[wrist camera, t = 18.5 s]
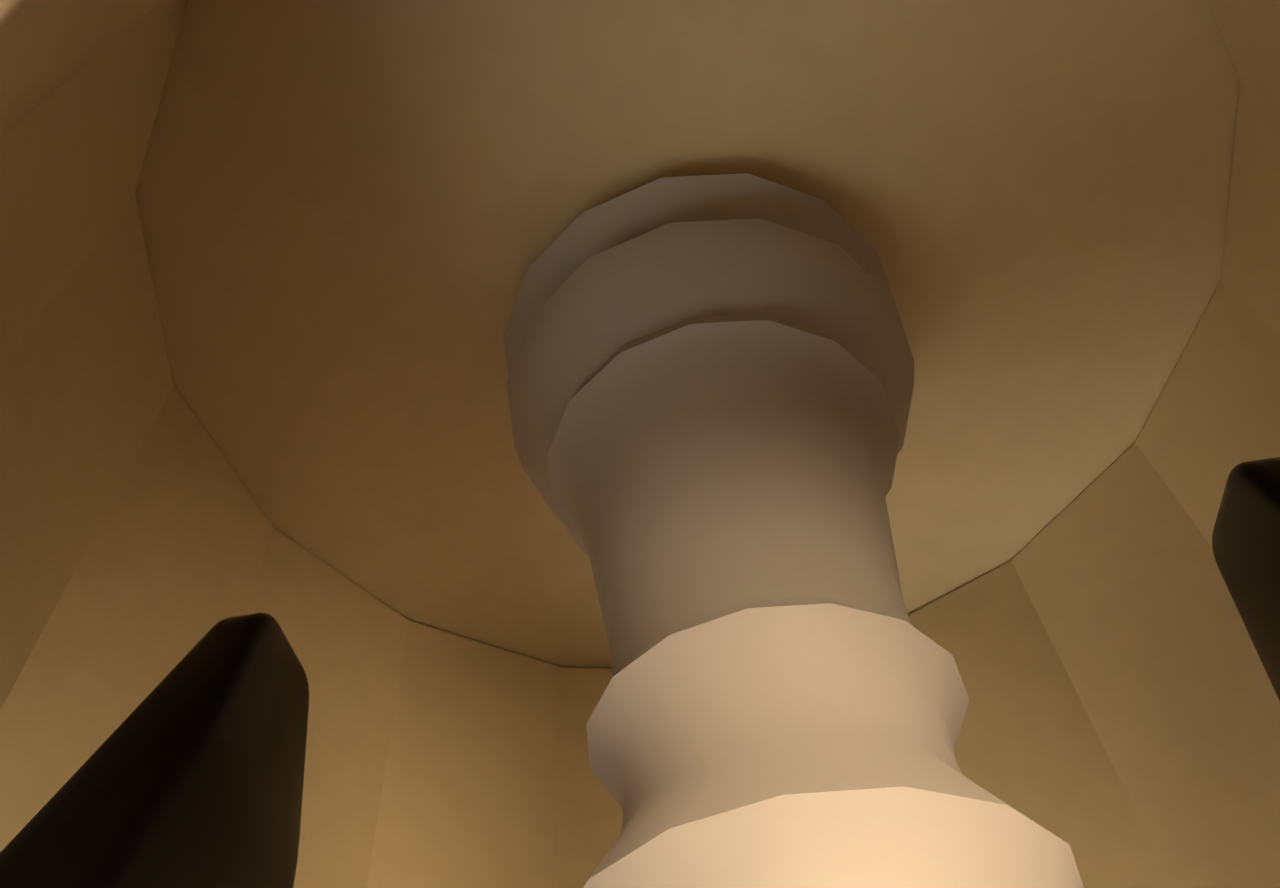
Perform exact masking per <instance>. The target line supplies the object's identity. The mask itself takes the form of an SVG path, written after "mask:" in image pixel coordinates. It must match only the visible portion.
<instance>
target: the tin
mask: <svg viewBox="0 0 1280 888" xmlns="http://www.w3.org/2000/svg"><path fill="white" fill-rule="evenodd" d="M744 173H749V174H752V175H755V176H757V177H760V178H763V179H766V180H769V181H771V182H774V183H777V184H780V185H783V186H785V187H788V188H791V189H794V190H797V191H800V192H802V193H805V194H808V195H811V196H814V197H816V198H819V199H822V200H825V201H826V202H827V203H828V204H829V205H830V206H831V207H832V208H833V209H834V210H835V211H836V212H837V213H838V214H839V215H840V216H841V217H842V218H843V219H844V220H846V221H847V222H848V223H849V224H850V225H851V226H852V227H853V228H854V229H855V230H856V231H857V232H858V233H859V234H860V235H861V236H862V237H863V238H864V239H865V240H866V241H867V242H868V243H869V244H870V245H871V246H872V247H873V248H874V249H875V250H876V251H877V252H878V255H879V258H880V261H881V264H882V267H883V270H884V273H885V276H886V279H887V282H888V285H889V288H890V291H891V294H892V296H893V298H894V301H895V304H896V307H897V310H898V313H899V316H900V319H901V323H902V326H903V329H904V332H905V335H906V338H907V341H908V344H909V347H910V350H911V353H912V356H913V359H914V387H913V393H912V399H911V404H910V410H909V416H908V421H907V427H906V433H905V438H904V444H903V447H902V449H901V450H900V452H899V453H898V455H897V459H896V464H895V470H894V476H893V482H892V488H891V489H890V491H889V492H888V493H887V495H886V496H885V499H886V504H887V510H888V516H889V522H890V527H891V533H892V539H893V545H894V550H895V556H896V562H897V567H898V573H899V579H900V585H901V590H902V596H903V601H904V604H905V607H906V609H907V612H908V615H909V618H910V621H911V623H912V626H913V627H915V628H916V629H917V630H919V631H920V632H921V633H923V634H924V635H926V636H927V637H928V638H930V639H931V640H933V641H934V642H935V643H937V644H938V645H939V646H941V647H942V648H944V649H945V650H946V651H948V652H949V653H950V654H952V655H953V658H954V660H955V663H956V666H957V668H958V671H959V674H960V676H961V679H962V681H963V684H964V687H965V689H966V692H967V694H968V697H969V702H968V706H967V709H966V713H965V716H964V720H963V723H962V727H961V730H960V734H959V737H958V741H957V744H956V747H955V749H954V752H955V757H956V762H957V764H958V766H959V768H960V770H961V772H962V774H963V775H964V776H965V777H967V778H968V779H970V780H971V781H973V782H974V783H976V784H977V785H979V786H980V787H982V788H983V789H985V790H987V791H988V792H990V793H991V794H993V795H994V796H996V797H997V798H999V799H1000V800H1002V801H1003V802H1005V803H1007V804H1008V805H1010V806H1011V807H1013V808H1014V809H1016V810H1017V811H1019V812H1020V813H1022V814H1023V815H1025V816H1026V817H1028V818H1030V819H1031V820H1033V821H1034V822H1036V823H1037V824H1039V825H1040V826H1042V827H1043V828H1045V829H1046V830H1048V831H1049V832H1051V833H1053V834H1054V835H1056V836H1057V837H1059V838H1060V839H1062V840H1063V841H1065V842H1066V843H1068V844H1069V845H1070V847H1071V850H1072V853H1073V856H1074V859H1075V862H1076V866H1077V869H1078V872H1079V875H1080V878H1081V881H1082V884H1083V887H1084V888H1280V701H1279V699H1278V697H1277V695H1276V693H1275V691H1274V688H1273V686H1272V684H1271V682H1270V680H1269V677H1268V675H1267V673H1266V671H1265V669H1264V667H1263V664H1262V662H1261V660H1260V658H1259V656H1258V653H1257V651H1256V649H1255V647H1254V645H1253V642H1252V640H1251V638H1250V636H1249V634H1248V632H1247V629H1246V627H1245V625H1244V623H1243V621H1242V618H1241V616H1240V614H1239V612H1238V610H1237V607H1236V605H1235V603H1234V601H1233V599H1232V597H1231V594H1230V592H1229V590H1228V588H1227V586H1226V583H1225V581H1224V579H1223V577H1222V575H1221V572H1220V570H1219V568H1218V566H1217V563H1216V561H1215V558H1214V554H1213V549H1212V534H1213V529H1214V525H1215V522H1216V518H1217V514H1218V511H1219V507H1220V504H1221V500H1222V496H1223V493H1224V489H1225V485H1226V482H1227V478H1228V476H1229V473H1230V472H1231V470H1232V469H1233V468H1234V467H1235V466H1236V465H1238V464H1240V463H1242V462H1248V461H1254V460H1261V459H1267V458H1274V457H1280V0H0V852H1V851H2V850H3V849H4V848H5V847H6V846H7V845H8V843H9V842H10V841H11V840H12V839H13V838H14V837H15V836H16V835H17V834H18V833H19V832H20V831H21V830H22V829H23V828H24V827H25V825H26V824H27V823H28V822H29V821H30V820H31V819H32V818H33V817H34V816H35V815H36V814H37V813H38V812H39V811H40V810H41V808H42V807H43V806H44V805H45V804H46V803H47V802H48V801H49V800H50V799H51V798H52V797H53V796H54V795H55V794H56V793H57V792H58V790H59V789H60V788H61V787H62V786H63V785H64V784H65V783H66V782H67V781H68V780H69V779H70V778H71V777H72V776H73V775H74V773H75V772H76V771H77V770H78V769H79V768H80V767H81V766H82V765H83V764H84V763H85V762H86V761H87V760H88V759H89V758H90V756H91V755H92V754H93V753H94V752H95V751H96V750H97V749H98V748H99V747H100V746H101V745H102V744H103V743H104V742H105V741H106V740H107V738H108V737H109V736H110V735H111V734H112V733H113V732H114V731H115V730H116V729H117V728H118V727H119V726H120V725H121V724H122V723H123V721H124V720H125V719H126V718H127V717H128V716H129V715H130V714H131V713H132V712H133V711H134V710H135V709H136V708H137V707H138V706H139V705H140V703H141V702H142V701H143V700H144V699H145V698H146V697H147V696H148V695H149V694H150V693H151V692H152V691H153V690H154V689H155V688H156V686H157V685H158V684H159V683H160V682H161V681H162V680H163V679H164V678H165V677H166V676H167V675H168V674H169V673H170V672H171V671H172V669H173V668H174V667H175V666H176V665H177V664H178V663H179V662H180V661H181V660H182V659H183V658H184V657H185V656H186V655H187V654H188V653H189V651H190V650H191V649H192V648H193V647H194V646H195V645H196V644H197V643H198V642H199V641H200V640H201V639H202V638H203V637H204V636H205V634H206V633H207V632H208V631H209V630H210V629H211V628H212V627H213V626H214V625H215V624H217V623H218V622H219V621H221V620H223V619H225V618H228V617H235V616H241V615H248V614H254V613H268V614H270V615H271V616H272V617H274V618H275V619H276V621H277V622H278V624H279V625H280V627H281V629H282V631H283V632H284V634H285V636H286V638H287V640H288V641H289V643H290V645H291V647H292V649H293V650H294V652H295V654H296V656H297V657H298V659H299V661H300V663H301V665H302V666H303V668H304V671H305V673H306V676H307V679H308V685H309V711H308V726H307V740H306V755H305V769H304V784H303V798H302V813H301V827H300V840H299V850H298V860H297V867H296V874H295V880H294V886H293V888H583V887H584V886H585V884H586V883H587V881H588V880H589V878H590V877H591V875H592V874H593V873H594V871H595V870H596V868H597V867H598V866H599V864H600V863H601V861H602V860H603V858H604V857H605V856H606V854H607V853H608V851H609V850H610V849H611V847H612V846H613V844H614V843H615V842H616V840H617V839H618V837H619V836H620V835H621V832H622V822H623V811H622V807H621V806H620V804H619V803H618V802H617V801H616V800H615V799H614V797H613V796H612V795H611V794H610V793H609V791H608V790H607V789H606V788H605V787H604V785H603V784H602V783H601V782H600V781H599V779H598V778H597V777H596V776H595V775H594V774H593V772H592V771H591V770H590V760H589V750H588V739H587V728H586V724H587V722H588V720H589V719H590V717H591V715H592V713H593V711H594V710H595V708H596V706H597V704H598V702H599V701H600V699H601V697H602V695H603V693H604V692H605V690H606V688H607V686H608V684H609V683H610V681H611V679H612V664H611V652H610V648H609V643H608V639H607V635H606V630H605V626H604V621H603V617H602V612H601V608H600V603H599V599H598V594H597V590H596V585H595V581H594V576H593V572H592V568H591V563H590V559H589V555H588V554H586V553H585V552H583V551H582V550H581V548H580V547H579V545H578V544H577V542H576V541H575V539H574V538H573V536H572V535H571V533H570V532H569V531H568V529H567V528H566V526H565V525H564V523H563V522H562V521H560V520H559V519H558V518H557V517H556V515H555V514H554V513H553V511H552V510H551V508H550V507H549V505H548V504H547V502H546V501H545V499H544V498H543V496H542V495H541V494H540V492H539V491H538V489H537V488H536V486H535V485H534V483H533V482H532V480H531V479H530V477H529V476H528V475H527V473H526V472H525V470H524V469H523V466H522V464H521V462H520V459H519V457H518V454H517V452H516V449H515V446H514V438H513V430H512V422H511V415H510V407H509V399H508V391H507V384H506V383H507V380H508V369H507V361H506V353H505V345H504V338H503V337H504V334H505V331H506V328H507V326H508V323H509V320H510V317H511V314H512V311H513V309H514V306H515V303H516V300H517V297H518V294H519V291H520V289H521V286H522V283H523V280H524V277H525V274H526V272H527V270H528V269H529V267H530V266H531V265H532V264H533V263H534V262H535V261H536V260H537V259H538V258H539V257H540V256H541V255H542V254H543V253H544V252H545V251H546V250H547V249H548V248H549V247H550V246H551V245H552V244H553V243H554V241H555V240H556V239H557V238H558V237H559V236H560V235H561V234H562V233H563V232H564V231H565V230H566V229H567V228H568V227H569V226H570V225H571V224H572V223H573V222H574V221H575V220H576V219H577V218H578V217H579V215H580V214H581V213H582V212H585V211H587V210H589V209H591V208H594V207H596V206H598V205H600V204H603V203H605V202H607V201H609V200H612V199H614V198H616V197H618V196H621V195H623V194H625V193H627V192H630V191H632V190H634V189H636V188H639V187H641V186H643V185H645V184H648V183H650V182H652V181H654V180H657V179H659V178H661V177H682V176H703V175H723V174H744Z"/></svg>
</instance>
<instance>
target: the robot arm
mask: <svg viewBox="0 0 1280 888" xmlns="http://www.w3.org/2000/svg"><path fill="white" fill-rule="evenodd" d="M1212 549H1213V554H1214V558H1215V561H1216V563H1217V566H1218V568H1219V570H1220V572H1221V575H1222V577H1223V579H1224V581H1225V583H1226V586H1227V588H1228V590H1229V592H1230V594H1231V597H1232V599H1233V601H1234V603H1235V605H1236V607H1237V610H1238V612H1239V614H1240V616H1241V618H1242V621H1243V623H1244V625H1245V627H1246V629H1247V632H1248V634H1249V636H1250V638H1251V640H1252V642H1253V645H1254V647H1255V649H1256V651H1257V653H1258V656H1259V658H1260V660H1261V662H1262V664H1263V667H1264V669H1265V671H1266V673H1267V675H1268V677H1269V680H1270V682H1271V684H1272V686H1273V688H1274V691H1275V693H1276V695H1277V697H1278V699H1279V701H1280V457H1274V458H1267V459H1261V460H1254V461H1248V462H1242V463H1240V464H1238V465H1236V466H1235V467H1234V468H1233V469H1232V470H1231V472H1230V473H1229V476H1228V478H1227V482H1226V485H1225V489H1224V493H1223V496H1222V500H1221V504H1220V507H1219V511H1218V514H1217V518H1216V522H1215V525H1214V529H1213V534H1212ZM308 711H309V685H308V679H307V676H306V673H305V671H304V668H303V666H302V665H301V663H300V661H299V659H298V657H297V656H296V654H295V652H294V650H293V649H292V647H291V645H290V643H289V641H288V640H287V638H286V636H285V634H284V632H283V631H282V629H281V627H280V625H279V624H278V622H277V621H276V619H275V618H274V617H272V616H271V615H270V614H268V613H254V614H248V615H241V616H235V617H228V618H225V619H223V620H221V621H219V622H218V623H217V624H215V625H214V626H213V627H212V628H211V629H210V630H209V631H208V632H207V633H206V634H205V636H204V637H203V638H202V639H201V640H200V641H199V642H198V643H197V644H196V645H195V646H194V647H193V648H192V649H191V650H190V651H189V653H188V654H187V655H186V656H185V657H184V658H183V659H182V660H181V661H180V662H179V663H178V664H177V665H176V666H175V667H174V668H173V669H172V671H171V672H170V673H169V674H168V675H167V676H166V677H165V678H164V679H163V680H162V681H161V682H160V683H159V684H158V685H157V686H156V688H155V689H154V690H153V691H152V692H151V693H150V694H149V695H148V696H147V697H146V698H145V699H144V700H143V701H142V702H141V703H140V705H139V706H138V707H137V708H136V709H135V710H134V711H133V712H132V713H131V714H130V715H129V716H128V717H127V718H126V719H125V720H124V721H123V723H122V724H121V725H120V726H119V727H118V728H117V729H116V730H115V731H114V732H113V733H112V734H111V735H110V736H109V737H108V738H107V740H106V741H105V742H104V743H103V744H102V745H101V746H100V747H99V748H98V749H97V750H96V751H95V752H94V753H93V754H92V755H91V756H90V758H89V759H88V760H87V761H86V762H85V763H84V764H83V765H82V766H81V767H80V768H79V769H78V770H77V771H76V772H75V773H74V775H73V776H72V777H71V778H70V779H69V780H68V781H67V782H66V783H65V784H64V785H63V786H62V787H61V788H60V789H59V790H58V792H57V793H56V794H55V795H54V796H53V797H52V798H51V799H50V800H49V801H48V802H47V803H46V804H45V805H44V806H43V807H42V808H41V810H40V811H39V812H38V813H37V814H36V815H35V816H34V817H33V818H32V819H31V820H30V821H29V822H28V823H27V824H26V825H25V827H24V828H23V829H22V830H21V831H20V832H19V833H18V834H17V835H16V836H15V837H14V838H13V839H12V840H11V841H10V842H9V843H8V845H7V846H6V847H5V848H4V849H3V850H2V851H1V852H0V888H293V886H294V880H295V874H296V867H297V860H298V850H299V840H300V827H301V813H302V798H303V784H304V769H305V755H306V740H307V726H308Z"/></svg>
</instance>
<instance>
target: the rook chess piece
mask: <svg viewBox="0 0 1280 888" xmlns="http://www.w3.org/2000/svg"><path fill="white" fill-rule="evenodd" d="M503 338H504V345H505V353H506V361H507V369H508V380H507V383H506V384H507V391H508V399H509V407H510V415H511V422H512V430H513V438H514V446H515V449H516V452H517V454H518V457H519V459H520V462H521V464H522V466H523V469H524V470H525V472H526V473H527V475H528V476H529V477H530V479H531V480H532V482H533V483H534V485H535V486H536V488H537V489H538V491H539V492H540V494H541V495H542V496H543V498H544V499H545V501H546V502H547V504H548V505H549V507H550V508H551V510H552V511H553V513H554V514H555V515H556V517H557V518H558V519H559V520H560V521H562V522H563V523H564V525H565V526H566V528H567V529H568V531H569V532H570V533H571V535H572V536H573V538H574V539H575V541H576V542H577V544H578V545H579V547H580V548H581V550H582V551H583V552H585V553H586V554H588V555H589V559H590V563H591V568H592V572H593V576H594V581H595V585H596V590H597V594H598V599H599V603H600V608H601V612H602V617H603V621H604V626H605V630H606V635H607V639H608V643H609V648H610V652H611V664H612V679H611V681H610V683H609V684H608V686H607V688H606V690H605V692H604V693H603V695H602V697H601V699H600V701H599V702H598V704H597V706H596V708H595V710H594V711H593V713H592V715H591V717H590V719H589V720H588V722H587V724H586V728H587V739H588V750H589V760H590V770H591V771H592V772H593V774H594V775H595V776H596V777H597V778H598V779H599V781H600V782H601V783H602V784H603V785H604V787H605V788H606V789H607V790H608V791H609V793H610V794H611V795H612V796H613V797H614V799H615V800H616V801H617V802H618V803H619V804H620V806H621V807H622V811H623V822H622V832H621V835H620V836H619V837H618V839H617V840H616V842H615V843H614V844H613V846H612V847H611V849H610V850H609V851H608V853H607V854H606V856H605V857H604V858H603V860H602V861H601V863H600V864H599V866H598V867H597V868H596V870H595V871H594V873H593V874H592V875H591V877H590V878H589V880H588V881H587V883H586V884H585V886H584V887H583V888H1084V887H1083V884H1082V881H1081V878H1080V875H1079V872H1078V869H1077V866H1076V862H1075V859H1074V856H1073V853H1072V850H1071V847H1070V845H1069V844H1068V843H1066V842H1065V841H1063V840H1062V839H1060V838H1059V837H1057V836H1056V835H1054V834H1053V833H1051V832H1049V831H1048V830H1046V829H1045V828H1043V827H1042V826H1040V825H1039V824H1037V823H1036V822H1034V821H1033V820H1031V819H1030V818H1028V817H1026V816H1025V815H1023V814H1022V813H1020V812H1019V811H1017V810H1016V809H1014V808H1013V807H1011V806H1010V805H1008V804H1007V803H1005V802H1003V801H1002V800H1000V799H999V798H997V797H996V796H994V795H993V794H991V793H990V792H988V791H987V790H985V789H983V788H982V787H980V786H979V785H977V784H976V783H974V782H973V781H971V780H970V779H968V778H967V777H965V776H964V775H963V774H962V772H961V770H960V768H959V766H958V764H957V762H956V757H955V752H954V749H955V747H956V744H957V741H958V737H959V734H960V730H961V727H962V723H963V720H964V716H965V713H966V709H967V706H968V702H969V697H968V694H967V692H966V689H965V687H964V684H963V681H962V679H961V676H960V674H959V671H958V668H957V666H956V663H955V660H954V658H953V655H952V654H950V653H949V652H948V651H946V650H945V649H944V648H942V647H941V646H939V645H938V644H937V643H935V642H934V641H933V640H931V639H930V638H928V637H927V636H926V635H924V634H923V633H921V632H920V631H919V630H917V629H916V628H915V627H913V626H912V623H911V621H910V618H909V615H908V612H907V609H906V607H905V604H904V601H903V596H902V590H901V585H900V579H899V573H898V567H897V562H896V556H895V550H894V545H893V539H892V533H891V527H890V522H889V516H888V510H887V504H886V499H885V496H886V495H887V493H888V492H889V491H890V489H891V488H892V482H893V476H894V470H895V464H896V459H897V455H898V453H899V452H900V450H901V449H902V447H903V444H904V438H905V433H906V427H907V421H908V416H909V410H910V404H911V399H912V393H913V387H914V359H913V356H912V353H911V350H910V347H909V344H908V341H907V338H906V335H905V332H904V329H903V326H902V323H901V319H900V316H899V313H898V310H897V307H896V304H895V301H894V298H893V296H892V294H891V291H890V288H889V285H888V282H887V279H886V276H885V273H884V270H883V267H882V264H881V261H880V258H879V255H878V252H877V251H876V250H875V249H874V248H873V247H872V246H871V245H870V244H869V243H868V242H867V241H866V240H865V239H864V238H863V237H862V236H861V235H860V234H859V233H858V232H857V231H856V230H855V229H854V228H853V227H852V226H851V225H850V224H849V223H848V222H847V221H846V220H844V219H843V218H842V217H841V216H840V215H839V214H838V213H837V212H836V211H835V210H834V209H833V208H832V207H831V206H830V205H829V204H828V203H827V202H826V201H825V200H822V199H819V198H816V197H814V196H811V195H808V194H805V193H802V192H800V191H797V190H794V189H791V188H788V187H785V186H783V185H780V184H777V183H774V182H771V181H769V180H766V179H763V178H760V177H757V176H755V175H752V174H749V173H744V174H723V175H703V176H682V177H661V178H659V179H657V180H654V181H652V182H650V183H648V184H645V185H643V186H641V187H639V188H636V189H634V190H632V191H630V192H627V193H625V194H623V195H621V196H618V197H616V198H614V199H612V200H609V201H607V202H605V203H603V204H600V205H598V206H596V207H594V208H591V209H589V210H587V211H585V212H582V213H581V214H580V215H579V217H578V218H577V219H576V220H575V221H574V222H573V223H572V224H571V225H570V226H569V227H568V228H567V229H566V230H565V231H564V232H563V233H562V234H561V235H560V236H559V237H558V238H557V239H556V240H555V241H554V243H553V244H552V245H551V246H550V247H549V248H548V249H547V250H546V251H545V252H544V253H543V254H542V255H541V256H540V257H539V258H538V259H537V260H536V261H535V262H534V263H533V264H532V265H531V266H530V267H529V269H528V270H527V272H526V274H525V277H524V280H523V283H522V286H521V289H520V291H519V294H518V297H517V300H516V303H515V306H514V309H513V311H512V314H511V317H510V320H509V323H508V326H507V328H506V331H505V334H504V337H503Z"/></svg>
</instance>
